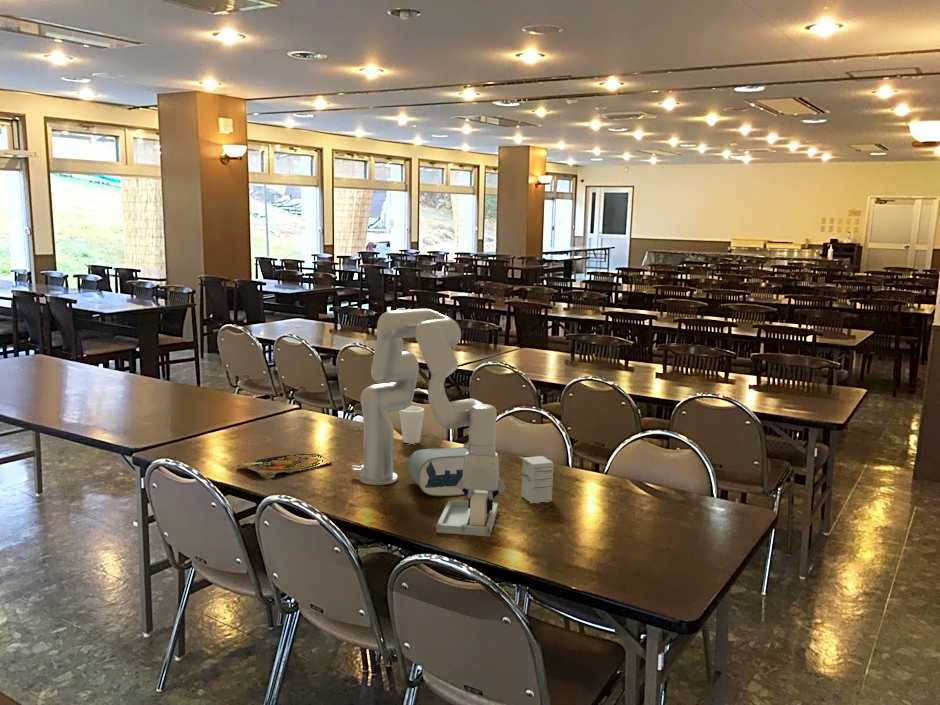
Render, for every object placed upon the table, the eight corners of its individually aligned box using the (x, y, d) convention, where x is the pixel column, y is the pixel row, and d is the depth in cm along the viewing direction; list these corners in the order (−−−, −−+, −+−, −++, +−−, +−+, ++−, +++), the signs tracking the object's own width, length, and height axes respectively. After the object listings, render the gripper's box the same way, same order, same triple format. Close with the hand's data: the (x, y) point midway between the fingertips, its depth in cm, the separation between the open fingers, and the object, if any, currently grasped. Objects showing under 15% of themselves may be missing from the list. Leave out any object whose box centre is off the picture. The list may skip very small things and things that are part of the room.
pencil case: (418, 499, 241) (418, 458, 240) (406, 482, 260) (406, 444, 258) (488, 494, 247) (488, 454, 246) (471, 478, 265) (472, 440, 264)
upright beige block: (469, 524, 218) (470, 500, 217) (476, 507, 232) (477, 484, 231) (484, 526, 218) (484, 501, 217) (490, 508, 231) (490, 485, 230)
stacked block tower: (520, 496, 247) (521, 457, 245) (542, 494, 249) (543, 455, 247) (530, 504, 240) (532, 464, 238) (552, 502, 243) (554, 462, 241)
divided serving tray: (436, 532, 217) (436, 524, 216) (448, 506, 237) (449, 499, 236) (489, 536, 215) (490, 528, 214) (497, 510, 235) (498, 502, 234)
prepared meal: (305, 444, 287) (335, 454, 274) (305, 454, 287) (335, 464, 275) (235, 462, 267) (263, 474, 255) (235, 472, 268) (264, 484, 255)
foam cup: (428, 441, 306) (428, 408, 304) (414, 447, 298) (414, 413, 296) (408, 437, 311) (408, 405, 309) (393, 442, 303) (394, 409, 301)
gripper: (450, 450, 219) (448, 514, 222) (510, 454, 217) (508, 518, 220) (454, 443, 227) (453, 504, 230) (513, 446, 224) (511, 509, 227)
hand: (480, 510), depth 225 cm, fingers closed on upright beige block, 4 cm apart
